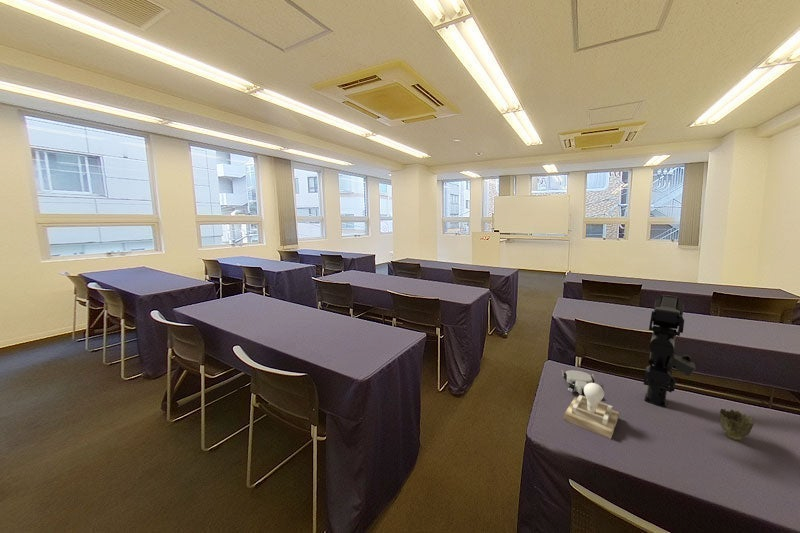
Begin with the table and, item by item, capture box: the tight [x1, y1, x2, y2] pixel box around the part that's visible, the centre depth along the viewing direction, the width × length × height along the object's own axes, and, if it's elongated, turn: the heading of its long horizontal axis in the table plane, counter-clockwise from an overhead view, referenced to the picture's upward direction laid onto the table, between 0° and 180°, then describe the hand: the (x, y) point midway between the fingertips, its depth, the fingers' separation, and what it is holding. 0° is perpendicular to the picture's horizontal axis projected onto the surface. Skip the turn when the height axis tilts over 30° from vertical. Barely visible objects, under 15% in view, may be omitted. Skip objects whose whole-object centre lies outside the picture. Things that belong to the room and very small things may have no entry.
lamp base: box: [563, 394, 620, 440], centre depth 108 cm, size 14×14×5 cm
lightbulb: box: [584, 382, 605, 413], centre depth 107 cm, size 6×6×11 cm
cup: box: [719, 408, 755, 442], centre depth 98 cm, size 8×7×8 cm
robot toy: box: [561, 369, 596, 396], centre depth 128 cm, size 12×4×15 cm
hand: (656, 389), depth 104 cm, fingers open, 9 cm apart
